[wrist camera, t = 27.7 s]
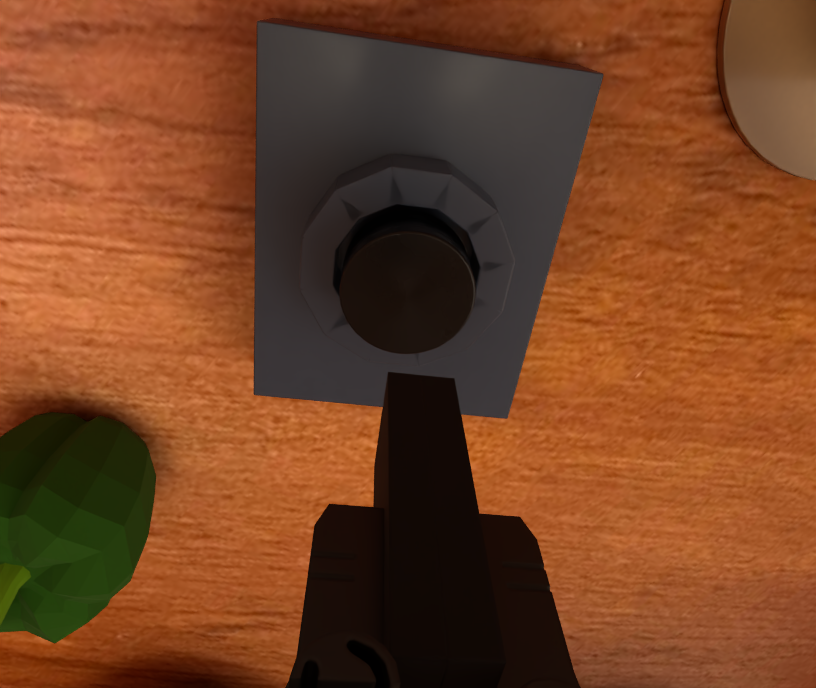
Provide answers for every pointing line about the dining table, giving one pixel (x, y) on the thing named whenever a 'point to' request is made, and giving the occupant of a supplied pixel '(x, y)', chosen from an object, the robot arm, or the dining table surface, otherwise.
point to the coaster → (771, 79)
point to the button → (406, 283)
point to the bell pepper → (69, 519)
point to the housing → (405, 198)
